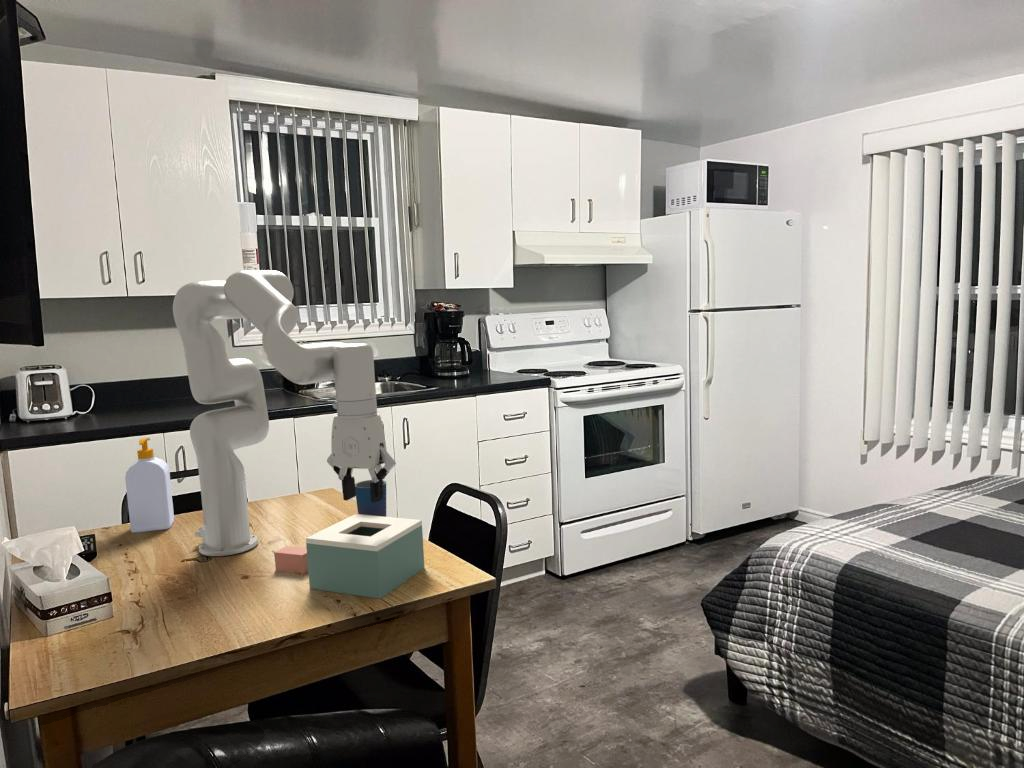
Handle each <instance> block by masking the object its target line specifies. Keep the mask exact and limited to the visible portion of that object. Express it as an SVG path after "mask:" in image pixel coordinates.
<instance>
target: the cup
mask: <svg viewBox="0 0 1024 768" xmlns="http://www.w3.org/2000/svg"><path fill="white" fill-rule="evenodd" d="M371 482H373V481H372V479H368V480H367V479H366V480H362V481H358V482H355V492H356V496H355V501H356V509H357V514H362V515H373V516H383V517H387V481H386V480H385V479H383V499H382V500H380V501H378V502H376V503H372V502H371V494H370V483H371Z"/></svg>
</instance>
